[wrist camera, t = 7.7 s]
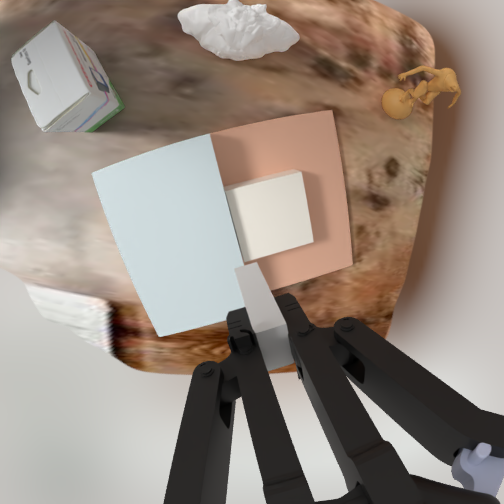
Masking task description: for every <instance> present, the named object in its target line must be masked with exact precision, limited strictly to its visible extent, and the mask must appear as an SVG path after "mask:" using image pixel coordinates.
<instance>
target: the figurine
mask: <svg viewBox="0 0 504 504" xmlns="http://www.w3.org/2000/svg"><path fill="white" fill-rule="evenodd" d="M421 71H426V72H429V73H431V74H434V75H436V76H435V77H434V78H433V79H432V80H431V81H430V82H426V81H425V80H422V81H421V82H420V84H419V85H418V86H417V87H416V89H415V90H414V89H413V88H411V89H408V90H407V91H406V92H405V91H403V90H401V89H398V88H392V89H389V90H387V91H386V92H385V93H384V95H383V97H382V107H383V109H384V111H385V112H386V114H387V115H389V116H390V117H392V118H394V119H404V118H406V117H408V116H409V115H410V114H411V112H412V109H413V104H414V102H415V101H416V100H417V99H418V98H420V99H421V100H422V102H423V103H424V104H427V105H428V104H430V102H431V101H432V100H433V99H434V98H435V96H437V95H438V94H440V93H441V91H444V92H448V91H451V92H454V91H456V92H457V93H456V94H455V96H454V98H453V101H452V104H451V105H449V107H448V108H450V107H451V106H453V105H454V104H455V102H456V101H457V98H458V97H459V95H460V94H461V90H460V88H459V85H458V83H457V80H456V74H455V72H454V71H453V70H452V69H450V68H443V69H441V70H438V69H433V68H430V67H427V66H419V67H417V68H415V69H413V70H410V71H408V72H406V73H402V74H400V75H398V76H400V77H399V78H401V79H400V81H401V80H402V79H403V78H404V81H405V80H406V76H408V75H412V74H415V73H417V72H421ZM399 78H398V79H399ZM427 90H428V92H427ZM426 92H427V93H426ZM409 94H411V95H412V97H413V98H412V99H411V98H410V96H409ZM424 94H426V98H425V96H424Z"/></svg>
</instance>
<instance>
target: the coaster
mask: <svg viewBox="0 0 504 504" xmlns="http://www.w3.org/2000/svg"><path fill="white" fill-rule="evenodd" d="M223 188H224V192H225V195H226V199H227V203H228V207H229V211H230V214H231V218H232V222H233V225H234V229H235V233H236V236H237V240H238V244H239V247H240V251H241V254H242V257H243V260H244V262H247V261H251V260H254V259H257V258H261V257H264V256H268V255H271V254H275V253H278V252H281V251H285V250H288V249H292V248H295V247H298V246H302V245H305V244H309V243H312V242H314V241H313V234H312V228H311V222H310V216H309V210H308V204H307V199H306V193H305V188H304V182H303V177H302V172H301V171H298V170H295V169H292V170H287V171H283V172H279V173H275V174H271V175H267V176H263V177H259V178H255V179H251V180H247V181H243V182H240V183H236V184H232V185H229V186H225V187H223Z"/></svg>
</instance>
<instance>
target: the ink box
mask: <svg viewBox="0 0 504 504" xmlns="http://www.w3.org/2000/svg"><path fill="white" fill-rule="evenodd" d="M11 60H12V66H13V68H14V71H15V74H16V77H17V79H18V81H19V84H20V86H21V90H22V92H23V95H24V96H25V98H26V100H27V103H28V106H29V109H30V111H31V113H32V115H33V117H34V119H35V121H36V124H37V126H38V127H41V130H42V131H44V132H93V131H94V130H96V129H97V128H98V127H100V126H101V125H102V124H103V123H105V122H106V121H107V120H109V119H110V118H112V117H113V116H114V115H116V114H117V113H118V112H120V111H121V110H122V109H124V107H125V106H124V104H123V102H122V101H121V99H120V97H119V95H118V94H117V92H116V90H115V89H114V87H113V85H112V83H111V82H110V80H109V78H108V76H107V74H106V73H105V71H104V69H103V67H102V65H101V64H100V62H99V60H98V58H97V56H96V54H95V52H94V51H93V50H92V49H91V48H89V47H88V46H87V45H86V44H85V43H83V42H82V41H81V40H80V39H78V38H77V37H76V36H74V35H73V34H72V33H71V32H70V31H68V30H67V29H66V28H64V27H63V26H62V25H61V24H59V23H58V22H57V21H55V20H54V21H53V22H51V23H50V24H49V25H47V26H46V27H44V28H43V29H42V30H41V31H39V32H38V33H37V34H36V35H34V36H33V37H32V38H31V39H30V40H28V41H27V42H26V43H25V44H24V45H23V46H22V47H21V48H19V49H18V50H17V51H16V52H15V53H14V54H13V55H12V58H11Z"/></svg>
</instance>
